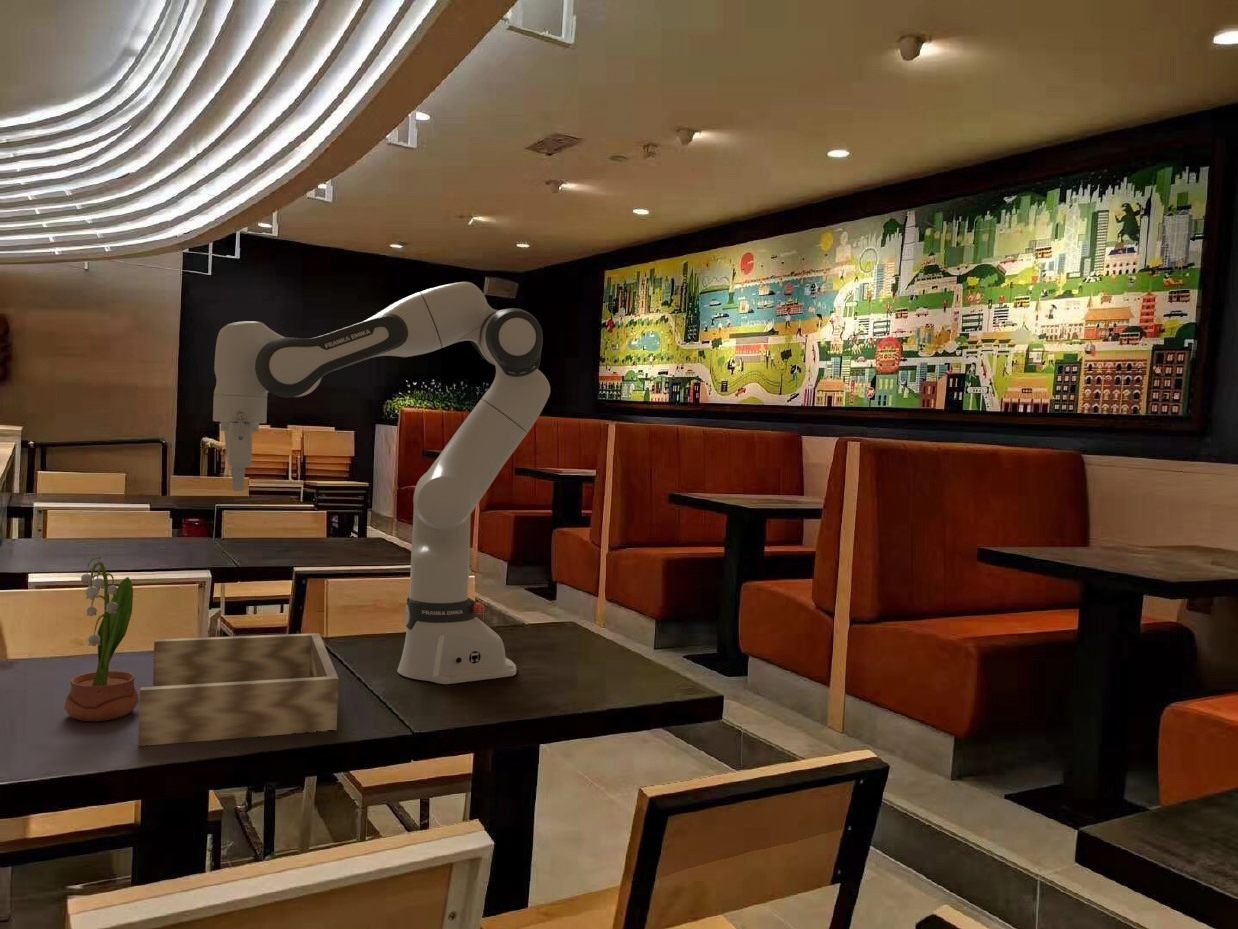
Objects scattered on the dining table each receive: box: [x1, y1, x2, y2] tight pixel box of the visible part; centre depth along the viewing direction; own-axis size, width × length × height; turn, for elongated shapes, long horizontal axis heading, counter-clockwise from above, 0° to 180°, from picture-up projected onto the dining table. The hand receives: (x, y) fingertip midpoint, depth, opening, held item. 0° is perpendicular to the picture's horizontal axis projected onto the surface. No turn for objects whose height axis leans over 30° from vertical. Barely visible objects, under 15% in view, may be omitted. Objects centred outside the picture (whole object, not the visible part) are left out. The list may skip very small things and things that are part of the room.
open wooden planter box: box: [137, 632, 340, 747], centre depth 149 cm, size 27×31×8 cm
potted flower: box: [64, 556, 140, 722], centre depth 140 cm, size 12×10×25 cm
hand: (237, 490), depth 164 cm, fingers closed
